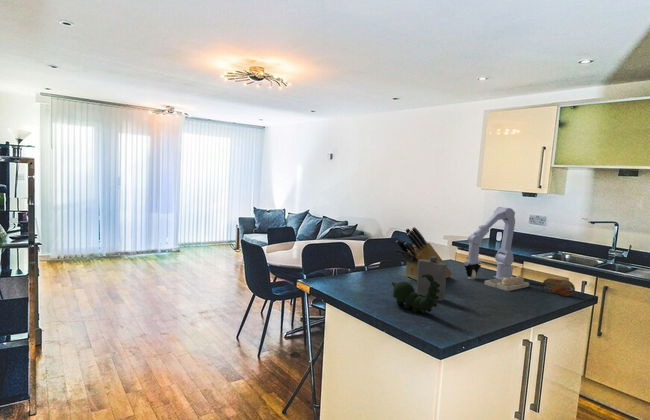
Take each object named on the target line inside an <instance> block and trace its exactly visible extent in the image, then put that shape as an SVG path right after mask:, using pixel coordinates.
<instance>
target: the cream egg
mask: <svg viewBox="0 0 650 420" xmlns="http://www.w3.org/2000/svg"><path fill="white" fill-rule="evenodd" d="M476 276H477V275H476V271H475V270H473V271H472V276H471V277H468V276H467V279H468V280H473V281H474V280H476Z"/></svg>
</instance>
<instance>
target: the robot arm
mask: <svg viewBox="0 0 650 420" xmlns="http://www.w3.org/2000/svg"><path fill="white" fill-rule="evenodd" d="M515 215H516V212H515V210H514V209H513V208H511V207H502V206H499V207H496V209H495V210H493V213H492V215H491V216H490V217H489V218H488V220H487V221H486V222H485V223H484V224H481V225H479V226H478V228H477V229H476V230H475V231H474V232H473V233H471V234H470V235H469V236H468V237H467V242H468V257H467V259H466V261H464V262H463V266H464V268H465V270H466V275H467V276H466V277H467V278H468V277H471V276H472V271H473V270H475V271H476V276H477V274H478V272H479V270H480V268H481V267H482V260H479V254H480V245H481V243H482V242H483V239H484V238H485V236H486V235H488V233H489V232H490V228H492V226H494V225H495V224H496V223H497V222H498V221H499V220H500V221H501V220H502V221H503V222H504V226H503V227H504V228H503V233H502V239H501V246H500V248H499V249H498V250H497V252H496V254H495V257H494V259H495V261H496V264H497V266H496V275H494V276H493V278H495V279H497V278H503V277H507V278H510V277H513V270H514V269H513V266H512V265H513V263H514V259H515V258H514V253H513V251H512V250H511V248H512V243H513V238H514V231H515V226H516V225H515V224H516V216H515Z"/></svg>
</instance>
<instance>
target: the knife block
mask: <svg viewBox="0 0 650 420" xmlns="http://www.w3.org/2000/svg"><path fill="white" fill-rule="evenodd" d="M405 233H406V235H407V237H408V238H409V239H410V241H411V242H412V243H413V245H412V244H411V243H410V242H409V241H408V242H407V241H404V240H402V241H400V240H399V239H397V240H396V241H395V242H396V244H397V245H398V246H399V248H400V249H401V250H400V249H396V251H395V252H396V253H397V254H399V255H400V256H401V258H402V259H404V260H405V261H406V266H405V267H406V272H405V276H406V277H408V278H411V279H413V280H415V281H417V274H418V260H420V259H424V260H430V257H437V261H436V262H441V263H444V264H446V263H445V261H444V260H443V259H442V258H441V256H440V255H439V254H438V253H437V251H436V249H434V247H433V246H432V244H431V243H429V242H427V240H426V239H425V237H424V236H423V235H422V234H421V232H420V231H419V230H418V228H416V227H415V226H413V227H412V228H411V229H409V228H406V229H405ZM451 275H453V274H452V272H451V270H450V269H449V267H448V266H447V272H446V279H447V278H450V277H451Z"/></svg>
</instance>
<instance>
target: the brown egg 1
mask: <svg viewBox="0 0 650 420" xmlns="http://www.w3.org/2000/svg"><path fill="white" fill-rule="evenodd" d="M510 284H511V281H510V279H508V278H504V279H503V280H502V285H503V286H507V287H509V286H510Z"/></svg>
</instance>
